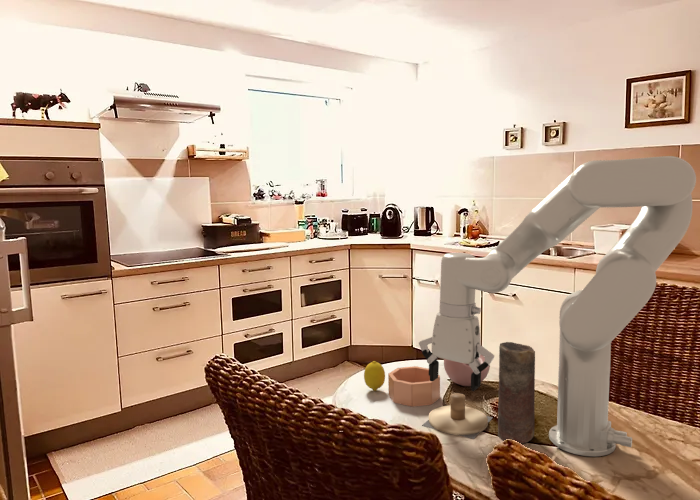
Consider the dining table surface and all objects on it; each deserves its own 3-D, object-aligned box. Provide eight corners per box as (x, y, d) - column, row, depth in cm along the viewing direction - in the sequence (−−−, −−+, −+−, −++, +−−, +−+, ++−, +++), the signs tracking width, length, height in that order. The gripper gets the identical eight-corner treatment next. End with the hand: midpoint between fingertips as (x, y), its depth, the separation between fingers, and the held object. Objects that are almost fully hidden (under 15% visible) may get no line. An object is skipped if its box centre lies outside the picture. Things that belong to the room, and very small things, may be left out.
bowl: (445, 394, 136) (445, 371, 135) (425, 411, 126) (425, 387, 125) (404, 385, 143) (403, 363, 142) (381, 401, 133) (381, 377, 132)
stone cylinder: (504, 426, 117) (506, 338, 115) (538, 435, 113) (540, 343, 111) (492, 440, 111) (493, 347, 109) (527, 449, 107) (529, 353, 105)
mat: (492, 419, 121) (492, 417, 121) (473, 441, 111) (473, 438, 111) (443, 408, 128) (443, 406, 128) (421, 427, 118) (421, 425, 118)
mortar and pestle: (481, 396, 134) (481, 352, 133) (436, 388, 140) (436, 346, 139) (495, 381, 144) (495, 340, 143) (453, 373, 150) (453, 334, 149)
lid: (495, 417, 121) (496, 391, 120) (475, 440, 110) (475, 413, 110) (442, 405, 128) (442, 381, 128) (418, 426, 118) (418, 400, 117)
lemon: (385, 386, 142) (385, 357, 141) (384, 394, 137) (384, 364, 136) (365, 386, 143) (364, 357, 142) (363, 394, 137) (362, 364, 136)
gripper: (501, 312, 115) (497, 387, 117) (428, 300, 124) (425, 371, 127) (489, 319, 109) (485, 399, 111) (413, 307, 118) (411, 380, 120)
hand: (453, 384), depth 119 cm, fingers open, 9 cm apart
